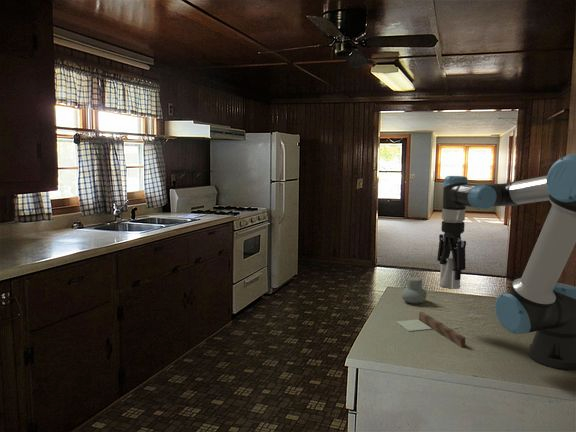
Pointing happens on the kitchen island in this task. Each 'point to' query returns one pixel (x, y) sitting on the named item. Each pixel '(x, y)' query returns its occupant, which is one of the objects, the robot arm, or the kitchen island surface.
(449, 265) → the flask
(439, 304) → the kitchen island surface
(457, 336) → the rail
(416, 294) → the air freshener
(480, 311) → the kitchen island surface
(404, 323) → the board
